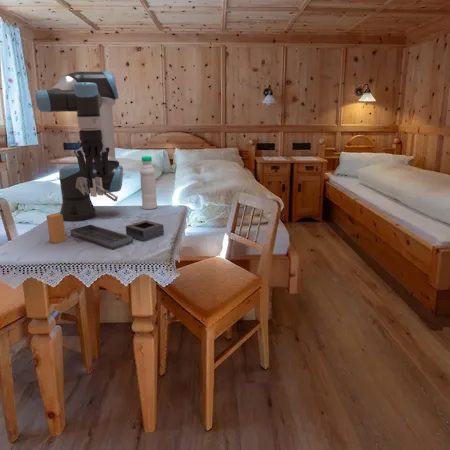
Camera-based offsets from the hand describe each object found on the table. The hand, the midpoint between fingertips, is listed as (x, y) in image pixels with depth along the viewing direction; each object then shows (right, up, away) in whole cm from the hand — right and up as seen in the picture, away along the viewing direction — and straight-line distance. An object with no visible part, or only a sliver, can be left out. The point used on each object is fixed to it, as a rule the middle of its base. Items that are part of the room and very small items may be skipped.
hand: (96, 195), depth 148 cm
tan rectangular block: (-15, -17, +3) cm, 23 cm away
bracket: (0, -1, 0) cm, 1 cm away
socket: (+16, -15, +8) cm, 23 cm away
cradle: (0, -16, +5) cm, 17 cm away
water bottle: (+10, -3, +49) cm, 51 cm away
